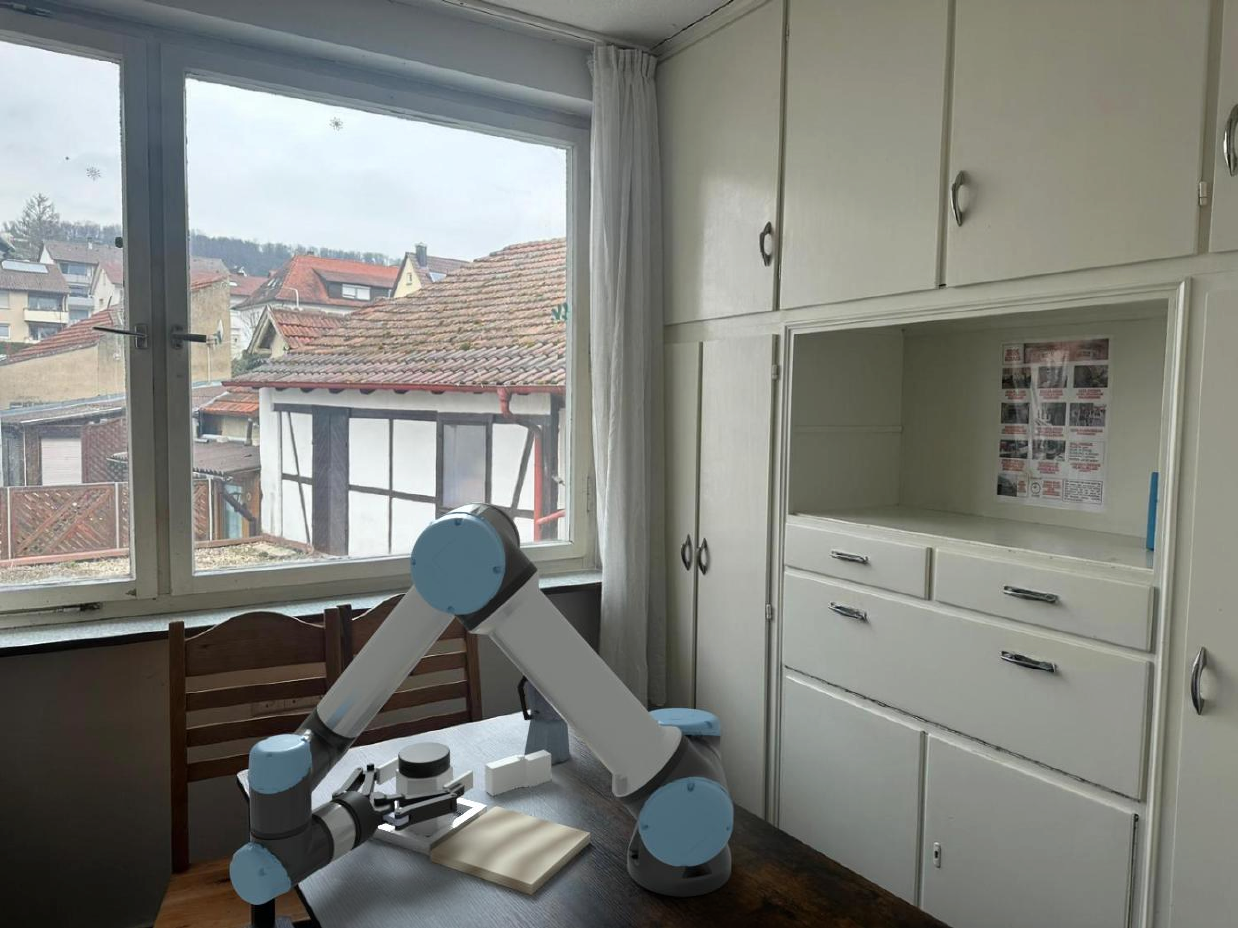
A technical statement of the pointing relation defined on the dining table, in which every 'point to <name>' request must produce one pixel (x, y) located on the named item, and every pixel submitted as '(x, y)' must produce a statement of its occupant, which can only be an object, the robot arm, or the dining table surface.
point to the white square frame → (426, 844)
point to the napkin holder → (517, 772)
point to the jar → (424, 779)
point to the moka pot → (544, 725)
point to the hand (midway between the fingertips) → (438, 769)
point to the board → (511, 849)
